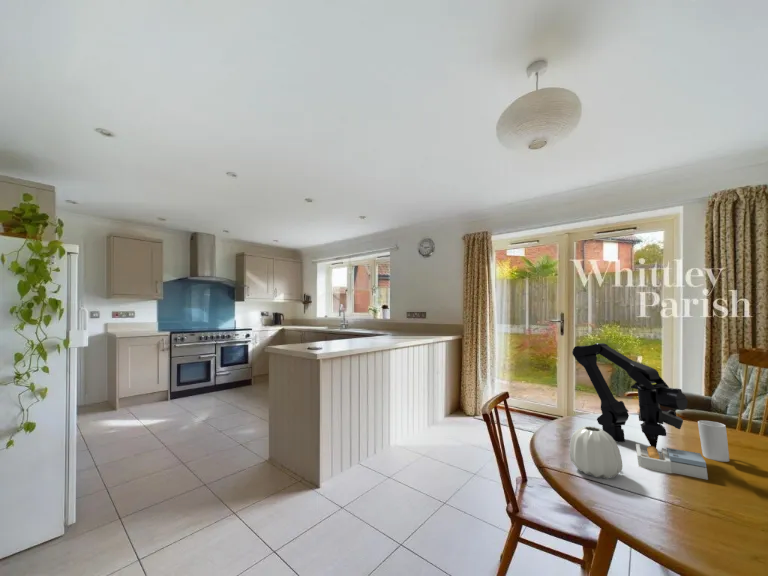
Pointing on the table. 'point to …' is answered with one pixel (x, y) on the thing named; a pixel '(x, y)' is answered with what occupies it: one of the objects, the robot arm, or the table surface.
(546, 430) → the table surface
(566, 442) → the table surface
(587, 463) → the vase
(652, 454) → the orange rounded block
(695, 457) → the cover
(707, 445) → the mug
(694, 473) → the white open box
